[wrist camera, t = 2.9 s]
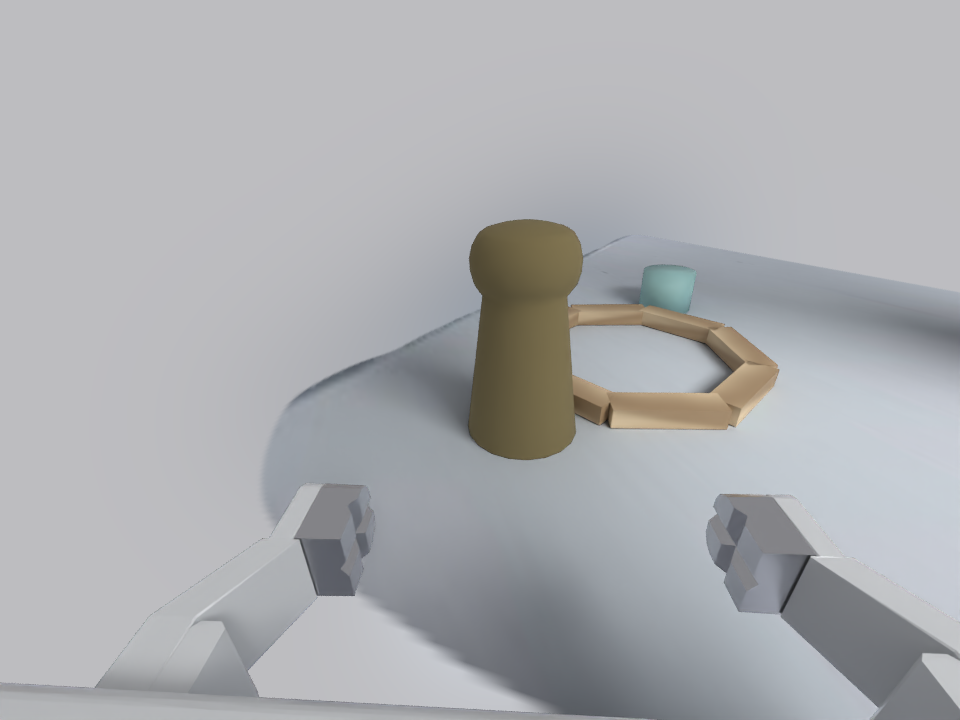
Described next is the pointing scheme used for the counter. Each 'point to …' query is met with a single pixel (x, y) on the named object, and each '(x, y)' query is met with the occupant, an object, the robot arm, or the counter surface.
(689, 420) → the wooden segmented ring
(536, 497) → the counter surface
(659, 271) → the loose bead
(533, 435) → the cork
